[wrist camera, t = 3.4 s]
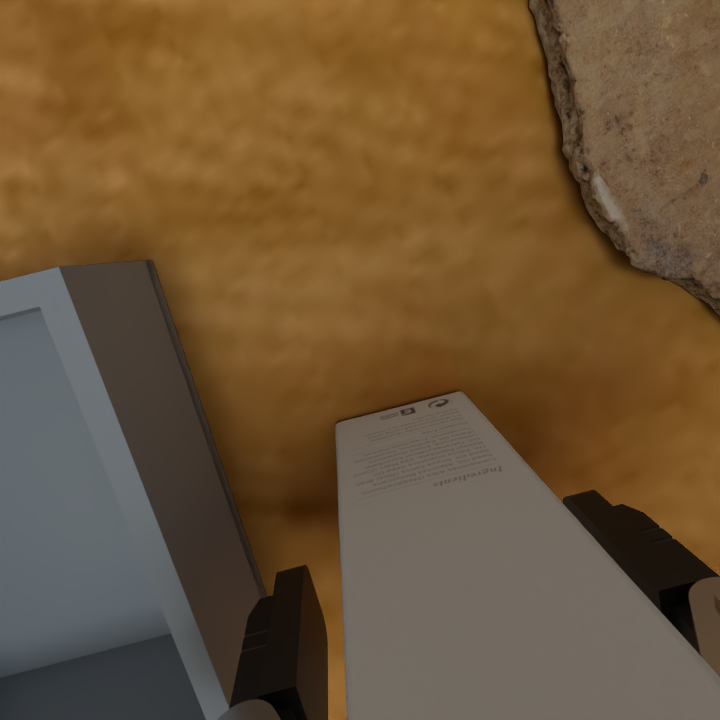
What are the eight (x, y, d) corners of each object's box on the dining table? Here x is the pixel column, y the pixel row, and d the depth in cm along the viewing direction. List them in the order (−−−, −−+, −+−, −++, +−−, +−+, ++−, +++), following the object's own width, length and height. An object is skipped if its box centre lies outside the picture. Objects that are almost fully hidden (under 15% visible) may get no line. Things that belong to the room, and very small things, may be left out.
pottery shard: (861, 214, 17) (656, -261, 12) (957, 215, 14) (745, -377, 10) (660, 372, 18) (401, -19, 13) (718, 398, 15) (425, -71, 11)
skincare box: (329, 420, 15) (340, 958, 4) (462, 386, 15) (880, 812, 4) (375, 584, 17) (487, 1345, 5) (496, 552, 17) (879, 1236, 5)
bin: (152, 260, 14) (59, 266, 9) (271, 611, 17) (249, 760, 12) (-178, 343, 14) (-450, 396, 9) (-3, 682, 17) (-138, 862, 12)
